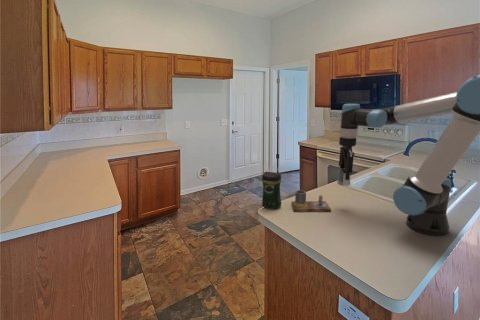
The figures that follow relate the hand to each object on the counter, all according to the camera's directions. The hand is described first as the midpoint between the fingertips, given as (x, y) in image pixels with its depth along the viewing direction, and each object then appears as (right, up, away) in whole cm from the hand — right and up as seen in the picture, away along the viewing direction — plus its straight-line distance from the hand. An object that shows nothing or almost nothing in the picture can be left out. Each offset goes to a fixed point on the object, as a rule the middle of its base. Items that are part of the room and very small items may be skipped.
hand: (343, 183), depth 133 cm
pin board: (-15, -13, +5) cm, 21 cm away
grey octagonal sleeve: (0, 0, 0) cm, 0 cm away
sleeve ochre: (-20, -12, +5) cm, 24 cm away
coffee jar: (-35, -13, +8) cm, 38 cm away
